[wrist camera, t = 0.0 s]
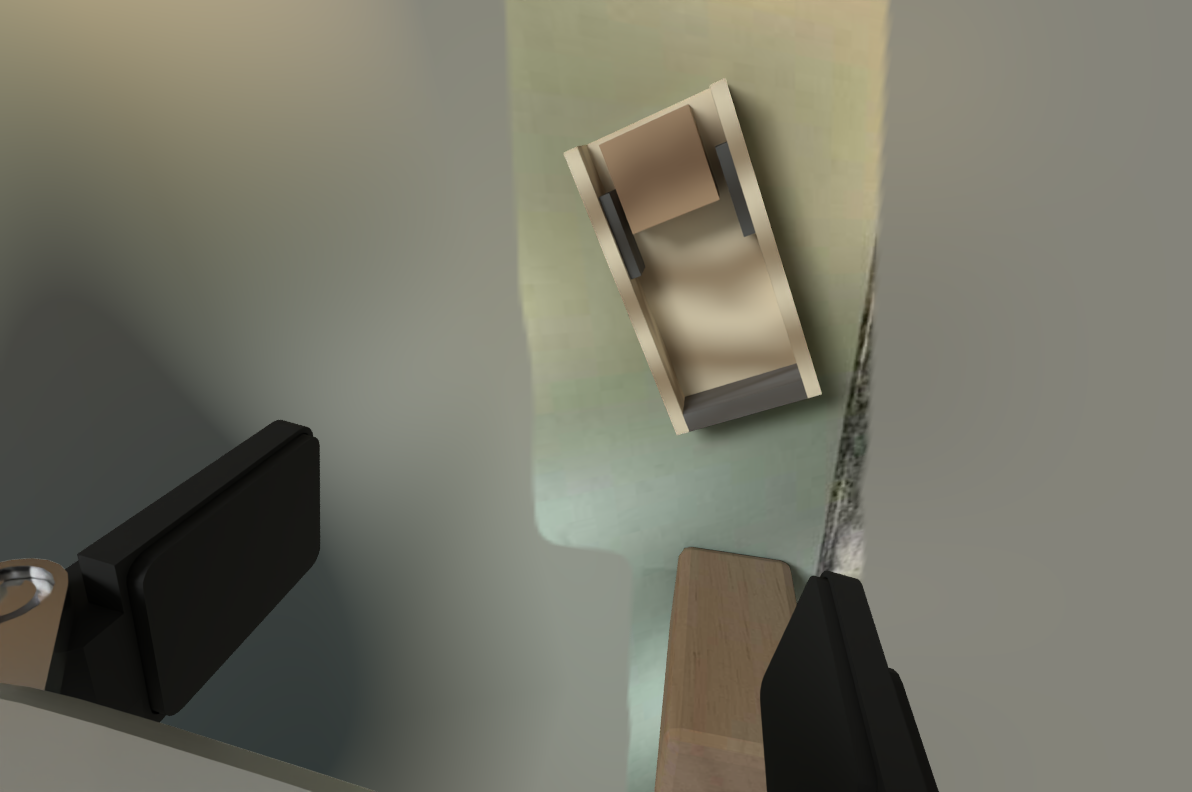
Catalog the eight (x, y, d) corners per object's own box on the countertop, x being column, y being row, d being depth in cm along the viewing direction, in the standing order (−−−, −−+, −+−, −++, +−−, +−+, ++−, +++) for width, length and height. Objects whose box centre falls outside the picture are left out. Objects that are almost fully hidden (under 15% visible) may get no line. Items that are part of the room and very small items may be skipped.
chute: (575, 150, 44) (563, 152, 40) (724, 81, 40) (725, 77, 37) (679, 413, 50) (677, 435, 47) (813, 373, 47) (822, 394, 43)
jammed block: (608, 143, 42) (598, 145, 39) (690, 105, 40) (688, 103, 37) (639, 225, 44) (632, 234, 41) (719, 193, 42) (719, 199, 39)
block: (792, 557, 54) (829, 771, 36) (773, 639, 58) (798, 868, 41) (680, 540, 56) (663, 739, 38) (669, 622, 60) (650, 835, 42)
